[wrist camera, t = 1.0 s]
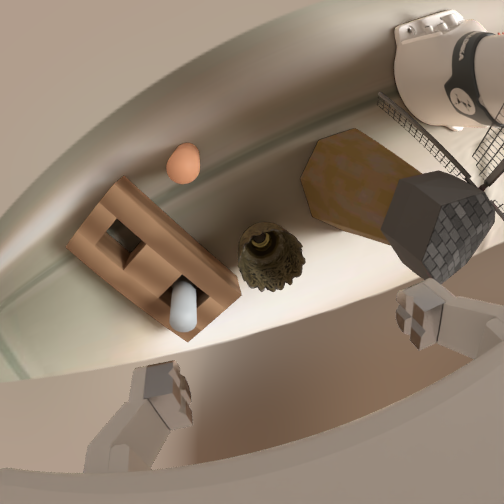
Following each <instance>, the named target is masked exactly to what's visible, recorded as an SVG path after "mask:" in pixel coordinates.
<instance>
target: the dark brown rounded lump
mask: <svg viewBox="0 0 504 504" xmlns="http://www.w3.org/2000/svg"><path fill="white" fill-rule="evenodd" d="M262 233H264V234H265V236H266V238H265V240H264V241H263V242H262V243H256V242H255V241H254V239H253V237H255V236H258V235H260V234H262ZM302 247H303V246H302V244H301V243H300V242H299V241H298V240H297V238H296V237H295V236H294V235H292V234H291V233H289V232H288V231H287V230H285V229H284V228H282V227H281V226H279V225H277V224H274V223H270V222H261V223H257V224H255V225H253V226H251V227H249V228H248V229H247V230H246V231H245V232H244V234H243V235H242V237H241V239H240V242H239V246H238V268H239V269H240V272H241V274H242V277H243V280H244V281H246V282H247V284H248V286H249V287H250V288H256V287H258V289H259V290H260V291H261V292H263V291H264V289H265V288H266V289H267V290H270V291H272V292H275V290H276V289H277V290H282V289H283V288H284V286H285V282H286V283H288V284H289V285H291V284H292V281H293V280H292V279H293V278H294V277H299V276H300V275H301V274H302V266H303V265H304V264H305V258H304V257H303V255H302V249H301V248H302Z"/></svg>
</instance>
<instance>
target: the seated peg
mask: <svg viewBox="0 0 504 504" xmlns="http://www.w3.org/2000/svg"><path fill="white" fill-rule="evenodd" d="M169 322H170V325H171V327H172V328H173V329H174V330H176V331H179V332H189V331H191V330H193V329H194V328H195V326H196V324H197V308H196V285H195V284H194V283H192V282H191V281H190V280H189V279H188V278H186V277H185V276H184V275H183V274H182V275H181V276H180V277H179V278H178V279H177V280H176V281H175V282H174V283H173V289H172V298H171V309H170V320H169Z"/></svg>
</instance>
